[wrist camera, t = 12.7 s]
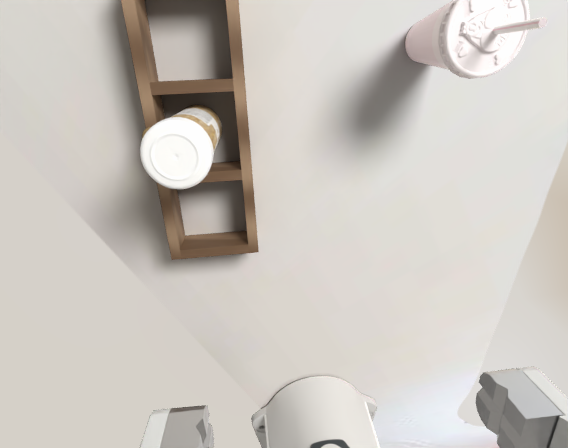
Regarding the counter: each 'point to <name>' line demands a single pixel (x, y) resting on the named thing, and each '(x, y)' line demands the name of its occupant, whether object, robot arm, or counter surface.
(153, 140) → the sprinkles bottle
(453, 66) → the smoothie
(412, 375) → the counter surface
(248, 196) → the spice caddy
